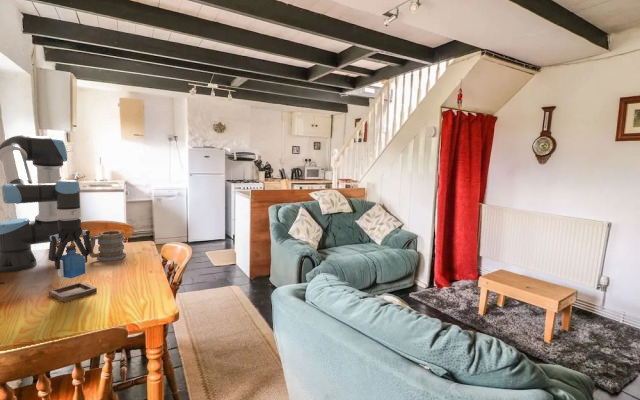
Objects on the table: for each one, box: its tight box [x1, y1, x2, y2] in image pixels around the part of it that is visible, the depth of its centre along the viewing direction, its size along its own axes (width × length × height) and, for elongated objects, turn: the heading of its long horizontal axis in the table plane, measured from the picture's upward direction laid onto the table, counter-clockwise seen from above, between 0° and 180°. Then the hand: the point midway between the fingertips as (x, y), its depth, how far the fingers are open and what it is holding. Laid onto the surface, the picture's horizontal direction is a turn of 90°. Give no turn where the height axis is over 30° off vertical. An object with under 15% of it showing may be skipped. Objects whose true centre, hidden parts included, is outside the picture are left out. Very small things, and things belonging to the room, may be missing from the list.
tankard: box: [82, 230, 127, 262], centre depth 180 cm, size 20×13×15 cm, turn 144°
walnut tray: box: [48, 281, 98, 304], centre depth 137 cm, size 12×12×2 cm
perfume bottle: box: [61, 245, 86, 279], centre depth 135 cm, size 6×6×12 cm
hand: (72, 273), depth 136 cm, fingers closed on perfume bottle, 7 cm apart
